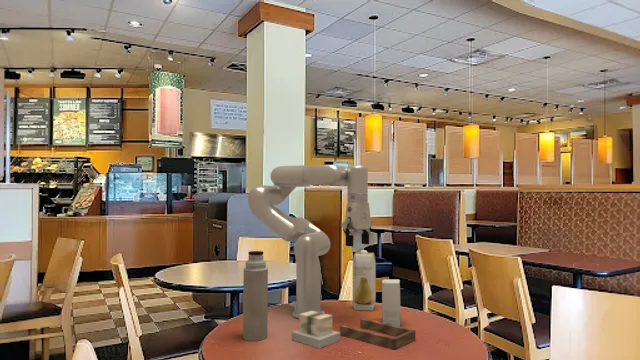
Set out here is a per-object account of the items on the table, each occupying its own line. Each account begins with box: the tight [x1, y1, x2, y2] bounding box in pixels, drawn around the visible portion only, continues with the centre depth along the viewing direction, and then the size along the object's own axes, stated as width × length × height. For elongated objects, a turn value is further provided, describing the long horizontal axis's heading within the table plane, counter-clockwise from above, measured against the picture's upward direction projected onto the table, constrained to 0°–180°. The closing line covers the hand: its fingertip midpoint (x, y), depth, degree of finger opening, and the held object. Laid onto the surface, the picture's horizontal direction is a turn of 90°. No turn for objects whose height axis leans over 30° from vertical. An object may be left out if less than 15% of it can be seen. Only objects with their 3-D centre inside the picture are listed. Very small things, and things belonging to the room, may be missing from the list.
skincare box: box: [381, 278, 401, 327], centre depth 161 cm, size 8×7×16 cm
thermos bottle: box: [242, 250, 269, 342], centre depth 146 cm, size 8×8×28 cm
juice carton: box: [352, 249, 377, 312], centre depth 183 cm, size 9×8×24 cm
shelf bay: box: [339, 318, 416, 350], centre depth 145 cm, size 21×12×3 cm, turn 48°
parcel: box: [298, 311, 333, 337], centre depth 143 cm, size 9×6×6 cm
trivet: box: [291, 329, 341, 349], centre depth 142 cm, size 12×10×2 cm
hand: (357, 245), depth 163 cm, fingers open, 9 cm apart
